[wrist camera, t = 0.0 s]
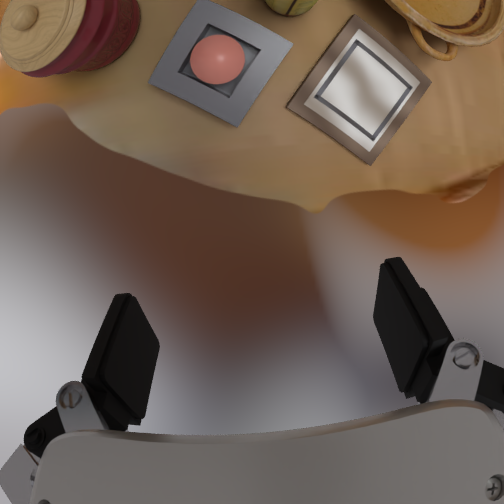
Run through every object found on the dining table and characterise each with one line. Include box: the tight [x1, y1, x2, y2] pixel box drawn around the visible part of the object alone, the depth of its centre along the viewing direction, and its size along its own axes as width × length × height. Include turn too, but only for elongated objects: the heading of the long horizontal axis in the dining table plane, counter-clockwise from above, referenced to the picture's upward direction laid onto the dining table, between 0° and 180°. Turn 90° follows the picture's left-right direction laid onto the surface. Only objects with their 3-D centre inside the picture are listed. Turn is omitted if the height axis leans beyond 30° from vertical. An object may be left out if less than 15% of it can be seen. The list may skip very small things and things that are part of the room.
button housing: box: [148, 0, 293, 127], centre depth 30 cm, size 12×12×4 cm
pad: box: [286, 14, 432, 166], centre depth 33 cm, size 16×14×1 cm
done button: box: [190, 35, 245, 84], centre depth 28 cm, size 6×6×3 cm
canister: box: [0, 0, 140, 77], centre depth 20 cm, size 13×13×18 cm
